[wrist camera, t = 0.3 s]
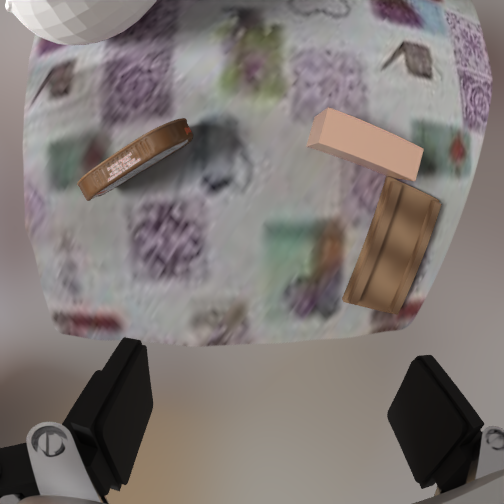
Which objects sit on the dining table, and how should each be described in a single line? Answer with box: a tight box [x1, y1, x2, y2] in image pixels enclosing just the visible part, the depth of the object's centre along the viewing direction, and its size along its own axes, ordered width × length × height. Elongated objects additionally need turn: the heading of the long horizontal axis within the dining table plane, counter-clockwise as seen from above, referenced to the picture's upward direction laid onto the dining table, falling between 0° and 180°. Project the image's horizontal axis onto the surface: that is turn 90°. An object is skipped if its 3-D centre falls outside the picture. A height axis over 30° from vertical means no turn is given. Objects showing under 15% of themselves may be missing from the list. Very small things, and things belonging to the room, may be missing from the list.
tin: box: [77, 118, 193, 201], centre depth 31 cm, size 15×3×8 cm, turn 116°
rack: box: [342, 176, 441, 314], centre depth 37 cm, size 18×9×2 cm, turn 164°
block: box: [306, 108, 424, 181], centre depth 31 cm, size 4×12×7 cm, turn 74°
